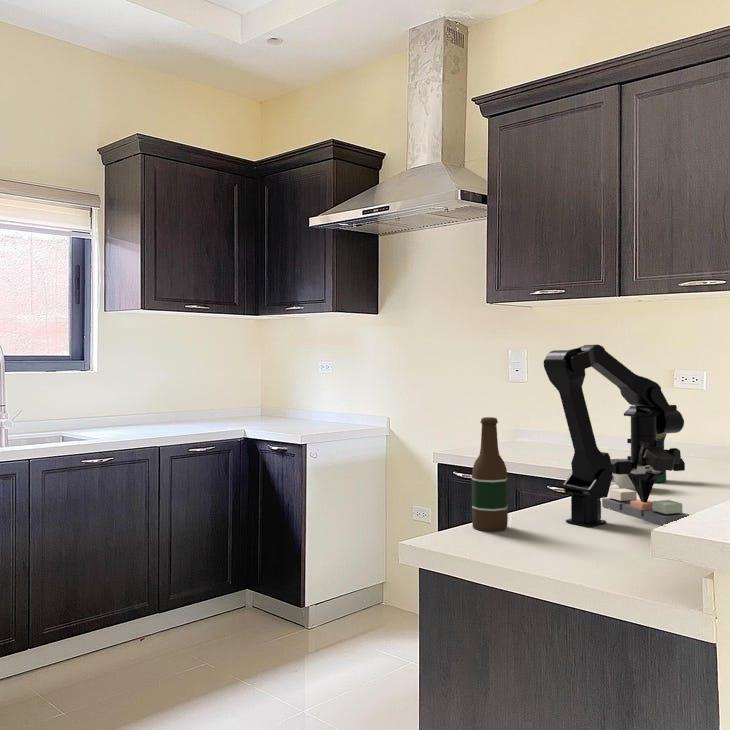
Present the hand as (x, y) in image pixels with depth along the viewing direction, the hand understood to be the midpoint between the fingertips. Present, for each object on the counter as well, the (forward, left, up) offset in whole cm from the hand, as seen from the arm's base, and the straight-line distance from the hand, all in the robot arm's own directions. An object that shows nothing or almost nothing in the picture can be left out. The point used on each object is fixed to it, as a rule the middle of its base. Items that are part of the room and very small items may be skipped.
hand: (644, 502), depth 173 cm
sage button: (-3, -7, -1) cm, 8 cm away
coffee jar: (+44, +27, -3) cm, 52 cm away
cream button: (+3, +8, -1) cm, 8 cm away
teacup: (+27, +23, -3) cm, 36 cm away
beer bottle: (-38, +13, -3) cm, 40 cm away
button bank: (0, 0, -3) cm, 3 cm away
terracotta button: (0, 0, -2) cm, 2 cm away
